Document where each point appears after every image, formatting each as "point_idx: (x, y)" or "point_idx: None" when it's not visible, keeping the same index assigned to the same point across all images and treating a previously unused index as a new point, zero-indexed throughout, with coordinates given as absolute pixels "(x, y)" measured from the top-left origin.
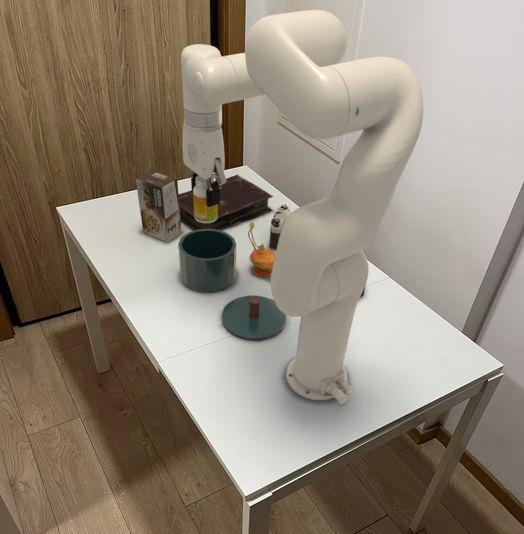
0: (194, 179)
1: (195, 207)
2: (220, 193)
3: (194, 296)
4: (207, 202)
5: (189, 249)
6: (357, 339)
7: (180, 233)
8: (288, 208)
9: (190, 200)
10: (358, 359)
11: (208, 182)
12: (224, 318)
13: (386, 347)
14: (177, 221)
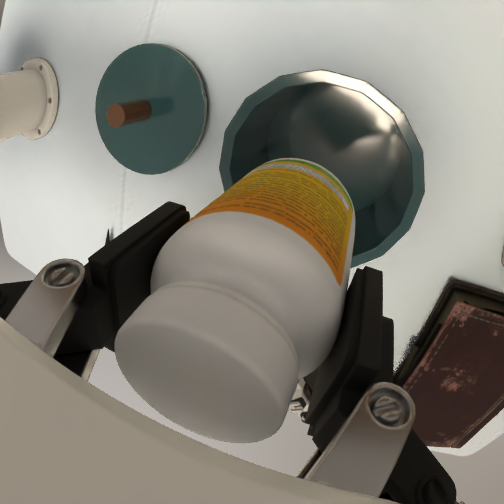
0: (341, 369)
1: (289, 180)
2: (468, 403)
3: (296, 63)
4: (153, 211)
5: (405, 166)
6: (53, 196)
7: (502, 258)
8: (300, 417)
9: None
10: (34, 166)
11: (31, 308)
12: (172, 54)
13: (37, 208)
14: None
